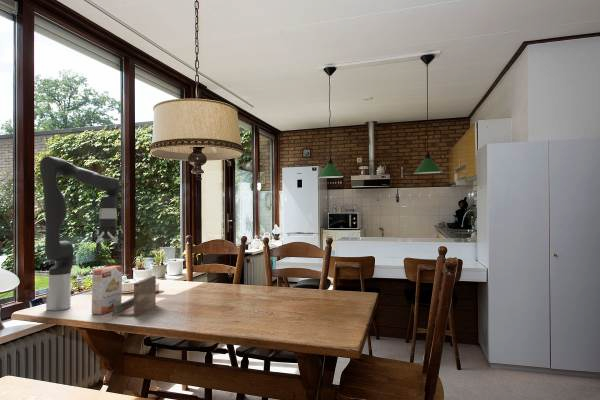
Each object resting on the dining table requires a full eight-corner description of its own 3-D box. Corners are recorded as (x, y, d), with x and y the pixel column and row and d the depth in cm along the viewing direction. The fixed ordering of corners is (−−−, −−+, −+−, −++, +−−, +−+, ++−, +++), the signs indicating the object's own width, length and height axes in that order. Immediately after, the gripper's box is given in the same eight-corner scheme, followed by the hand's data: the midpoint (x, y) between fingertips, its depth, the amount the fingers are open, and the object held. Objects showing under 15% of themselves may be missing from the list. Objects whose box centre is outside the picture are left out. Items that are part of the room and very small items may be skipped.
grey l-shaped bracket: (112, 316, 170) (112, 283, 171) (132, 304, 190) (132, 275, 191) (137, 316, 170) (138, 283, 170) (155, 305, 190) (155, 275, 190)
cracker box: (102, 315, 172) (102, 270, 172) (90, 314, 173) (91, 269, 174) (122, 307, 186) (122, 265, 186) (111, 306, 187) (112, 265, 187)
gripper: (89, 218, 177) (88, 252, 176) (118, 217, 177) (118, 252, 176) (97, 217, 184) (97, 250, 184) (126, 217, 184) (126, 250, 184)
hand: (107, 251), depth 180 cm, fingers open, 8 cm apart
